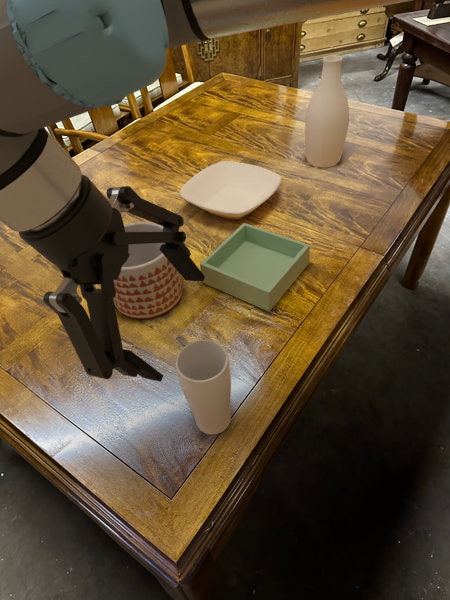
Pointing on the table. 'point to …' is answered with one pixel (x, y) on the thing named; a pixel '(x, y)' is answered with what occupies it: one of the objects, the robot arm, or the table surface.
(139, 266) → the planter
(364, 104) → the table surface
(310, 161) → the bottle
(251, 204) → the bowl
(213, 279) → the bin
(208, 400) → the white cup
